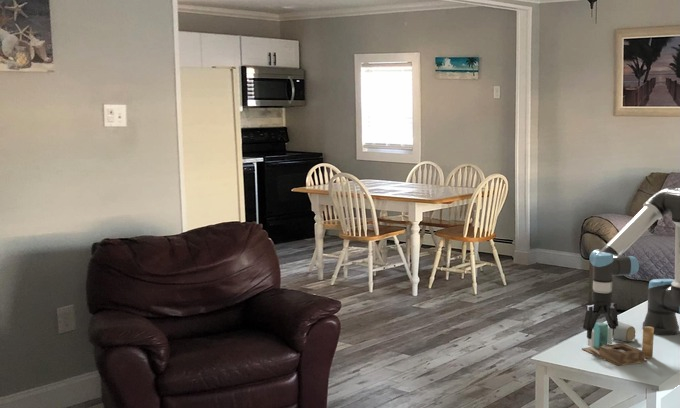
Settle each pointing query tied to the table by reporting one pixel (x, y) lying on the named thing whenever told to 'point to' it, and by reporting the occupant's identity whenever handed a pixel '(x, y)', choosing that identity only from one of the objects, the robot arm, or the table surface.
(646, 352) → the dowel
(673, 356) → the table surface
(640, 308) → the table surface
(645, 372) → the table surface
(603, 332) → the teal l-shaped block
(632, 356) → the dock
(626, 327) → the grey cylinder
